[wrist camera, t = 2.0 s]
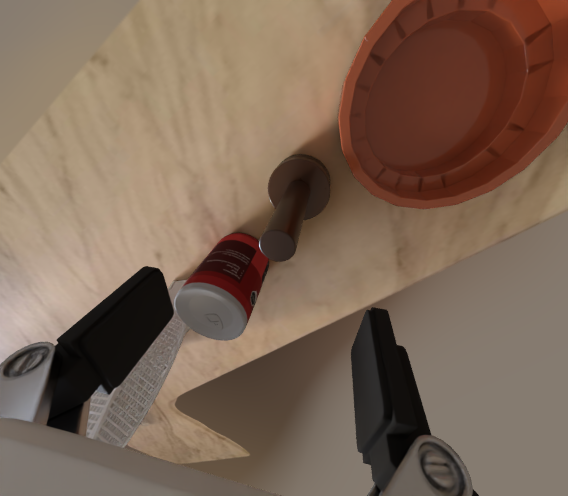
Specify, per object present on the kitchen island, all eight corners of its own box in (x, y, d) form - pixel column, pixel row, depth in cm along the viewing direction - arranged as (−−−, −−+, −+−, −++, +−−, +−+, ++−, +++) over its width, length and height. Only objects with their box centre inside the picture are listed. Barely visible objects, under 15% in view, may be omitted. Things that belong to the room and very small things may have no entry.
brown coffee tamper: (272, 207, 27) (232, 276, 16) (274, 151, 24) (224, 191, 13) (325, 214, 26) (320, 292, 16) (335, 157, 23) (337, 206, 12)
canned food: (241, 283, 35) (209, 347, 26) (207, 244, 32) (157, 301, 23) (281, 266, 32) (261, 332, 23) (247, 221, 29) (208, 276, 20)
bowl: (326, 181, 24) (325, 197, 20) (359, -21, 16) (369, -63, 12) (472, 197, 22) (503, 219, 18) (591, -19, 14) (694, -67, 10)
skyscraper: (205, 270, 35) (-47, 600, 12) (224, 304, 38) (60, 609, 15) (165, 276, 37) (-111, 559, 14) (186, 307, 41) (-5, 574, 18)
